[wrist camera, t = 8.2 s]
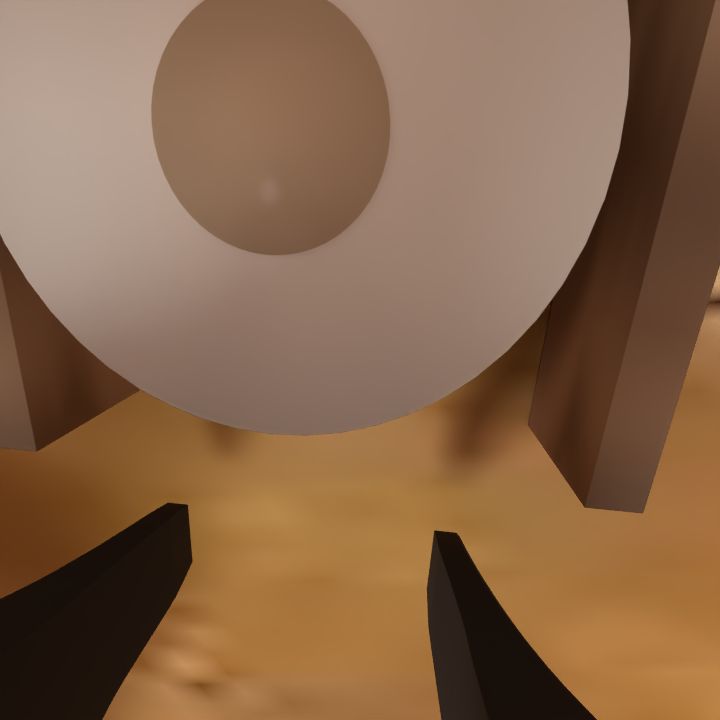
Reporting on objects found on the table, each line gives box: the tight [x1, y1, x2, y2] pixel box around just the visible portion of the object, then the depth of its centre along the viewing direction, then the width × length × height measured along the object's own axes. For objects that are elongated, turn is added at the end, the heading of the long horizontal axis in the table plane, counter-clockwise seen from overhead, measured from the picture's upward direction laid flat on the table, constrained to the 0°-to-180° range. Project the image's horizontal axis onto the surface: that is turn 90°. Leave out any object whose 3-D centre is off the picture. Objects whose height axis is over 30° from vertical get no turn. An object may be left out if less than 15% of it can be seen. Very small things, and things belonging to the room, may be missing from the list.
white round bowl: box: [0, 0, 631, 436], centre depth 8 cm, size 9×9×6 cm
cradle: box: [0, 0, 720, 513], centre depth 9 cm, size 13×15×5 cm
